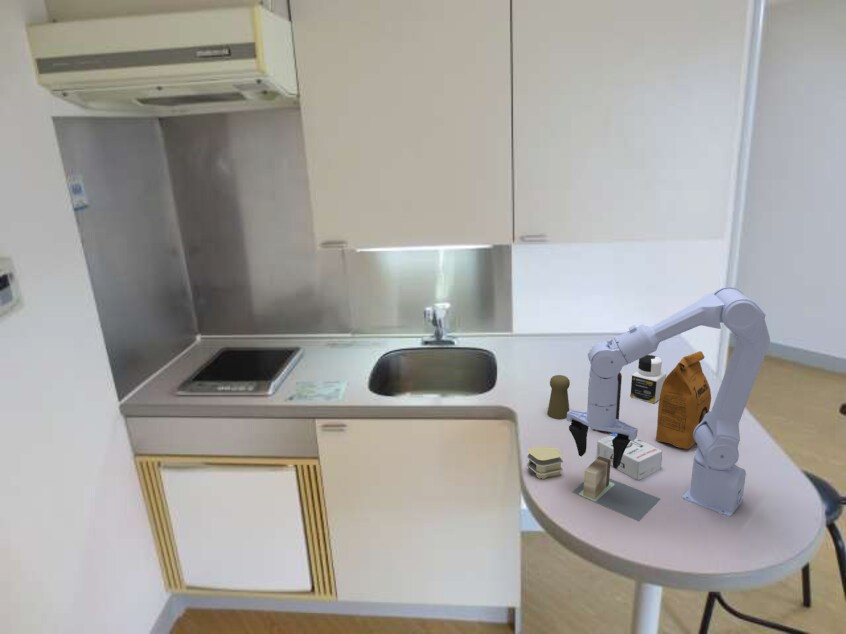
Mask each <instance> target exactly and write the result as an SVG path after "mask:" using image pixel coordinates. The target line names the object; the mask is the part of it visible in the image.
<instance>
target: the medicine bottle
mask: <svg viewBox="0 0 846 634" xmlns="http://www.w3.org/2000/svg"><path fill="white" fill-rule="evenodd" d="M662 363H663V361H662V358H660V357H659V356H657V355H653V354H648V355H646V356H644V357H642V358H640V359H638V370H636V371H635V372H634V373H632V375H631V381H630V383H631V385H630V398H631V399H632V398H633V399H636V400H641V401H643V402H647V403H650V404H651V403H652V404H656V403H657V402H658V401H659V400H660V394H661V389H662V386H663V382H664V380H665V379H666V377H667V372H664V371H662Z"/></svg>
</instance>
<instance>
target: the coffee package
mask: <svg viewBox="0 0 846 634" xmlns="http://www.w3.org/2000/svg"><path fill="white" fill-rule="evenodd" d="M705 358H706V357H705V355H704V353H703V351H701V350H698V351H696V352H695V353H692V354H688V355H685V356H683V357H682V359H680V361H679V362H678V363H677V364H676V366H675V367H674V368H673V369H672V370H671V372H669V374H667V375H666V379H665V380H664V382H663V386H662V389H661V394H660V399H659V400H658V401H659V402H658V407H657V424H656V425H657V426H656V436H655V440H656V441H658V442H662V443H666V444H670V445H673V446H674V447H677V448H680V449H685V450H688V449H689V448H691V447H692V446H694V445H695V444H697V443H696V442H695V440H694V437H693V432H694V429H695V428H696V426H697V425H699V424H700V423H701V422H702V420H703V418H704V416H705V414H706V413H708V412H710V408H711V403H712V392H711V387H710V385H709V381H708V380H707V377H706V375H705V374H704V372H703V367H702V365H701V362H700V361H702V360H704V359H705Z"/></svg>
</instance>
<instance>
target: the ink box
mask: <svg viewBox="0 0 846 634" xmlns="http://www.w3.org/2000/svg"><path fill="white" fill-rule="evenodd" d="M616 436H617V434H615V433H611V434H610V435H608V436H605V437H603V438H601V439H598V440H597V444H596V458H595V459H597V458H598V457H599V456H601V457H604V458H607V459H610V460H611V463H610V467H612V468H614V467H613V456H614V451H613V443H612V440H613V439H614V438H615V437H616ZM662 462H663V450H661V449H660V448H657V447H655V446H653V445H651V444H649V443H646V442H645V441H642V440H640V439H638V437H636V439H635V440H634V441H632V440H631V441H630V442H629V444H628V446H627V447H626V449H625V451H624V453H623V456H622V459H621V463H620V465H619V466H618V467H617V468H615V470H618V471H620V472H621V473H623V474H625V475H627V476H629V477H630V478H632V479H635V481H639V480H641V479H644V478H646V477H648V476H650V475H652V474H653V473H656V472H658V471H660V470H661V468H662Z"/></svg>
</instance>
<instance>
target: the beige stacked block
mask: <svg viewBox="0 0 846 634" xmlns="http://www.w3.org/2000/svg"><path fill="white" fill-rule="evenodd" d="M527 453H528V455H527V457H526V458H527V459H528V462H527V463H526V466H527V467H528V468H529V469H531V470H532V471H533V472H534V473H535V477H536V476H537V477H538V478H537V477H536V478H537V479H539V478H542V479H541V480H545V479H547V478H549V477H555V476H560V475H561V473H562V471H563V468H562V465H561V464H562V463H564V461H563V459H562V457H564V455H563V454H562V453H561V451H560V450H559V449H558V448H557V447H553V446H552V447H547V446H546V447H545V446H543V447H542V446H541V447H540V446H533V447H529V448H528V450H527Z"/></svg>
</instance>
